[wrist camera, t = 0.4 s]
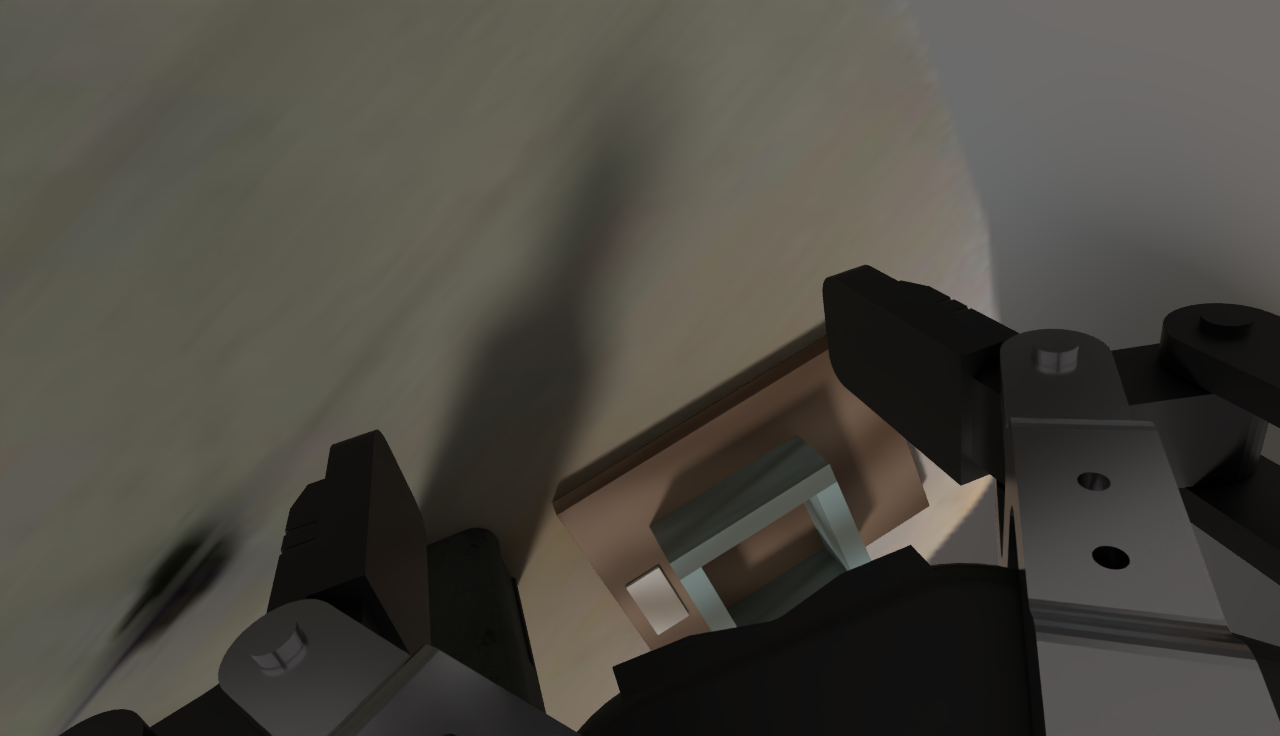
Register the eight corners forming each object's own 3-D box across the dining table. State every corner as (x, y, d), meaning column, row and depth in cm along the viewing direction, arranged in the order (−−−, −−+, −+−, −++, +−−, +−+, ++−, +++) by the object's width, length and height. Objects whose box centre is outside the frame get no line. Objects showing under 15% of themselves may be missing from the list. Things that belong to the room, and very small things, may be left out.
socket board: (552, 502, 36) (570, 554, 32) (852, 319, 37) (905, 347, 33) (660, 658, 42) (687, 718, 38) (916, 495, 43) (967, 536, 39)
